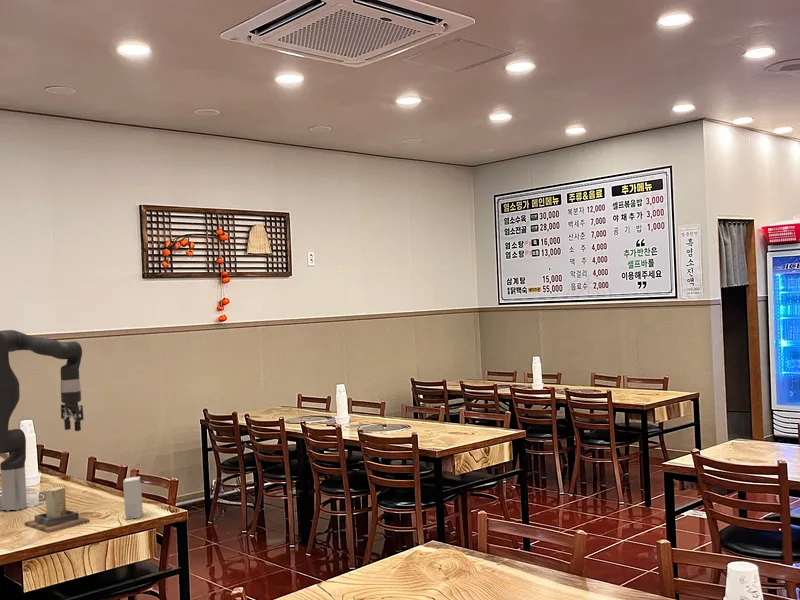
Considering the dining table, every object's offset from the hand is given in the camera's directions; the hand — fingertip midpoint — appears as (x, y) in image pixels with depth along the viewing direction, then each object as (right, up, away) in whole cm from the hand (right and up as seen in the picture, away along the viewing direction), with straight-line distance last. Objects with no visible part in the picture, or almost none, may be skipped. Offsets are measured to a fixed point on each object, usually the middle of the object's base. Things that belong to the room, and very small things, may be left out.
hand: (72, 430), depth 323 cm
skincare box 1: (+1, -32, -18) cm, 37 cm away
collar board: (+2, -33, -19) cm, 38 cm away
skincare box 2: (+30, -32, -14) cm, 46 cm away
